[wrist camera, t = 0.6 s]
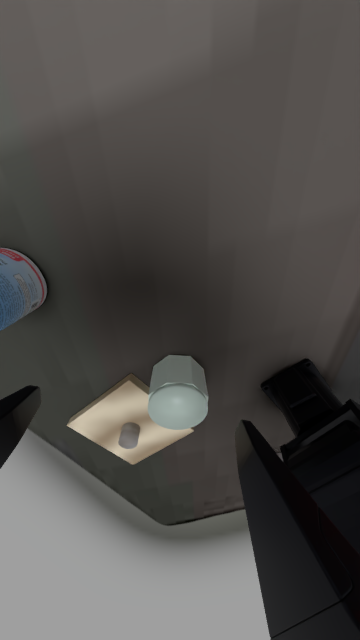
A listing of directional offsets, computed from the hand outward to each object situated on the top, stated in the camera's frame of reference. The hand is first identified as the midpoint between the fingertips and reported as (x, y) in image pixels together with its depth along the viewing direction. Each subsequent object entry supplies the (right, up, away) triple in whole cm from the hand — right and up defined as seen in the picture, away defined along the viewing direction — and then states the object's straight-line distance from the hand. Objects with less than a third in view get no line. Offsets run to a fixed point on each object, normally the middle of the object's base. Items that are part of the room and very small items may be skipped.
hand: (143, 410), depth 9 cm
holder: (-5, -10, +19) cm, 22 cm away
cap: (+1, -3, +16) cm, 16 cm away
